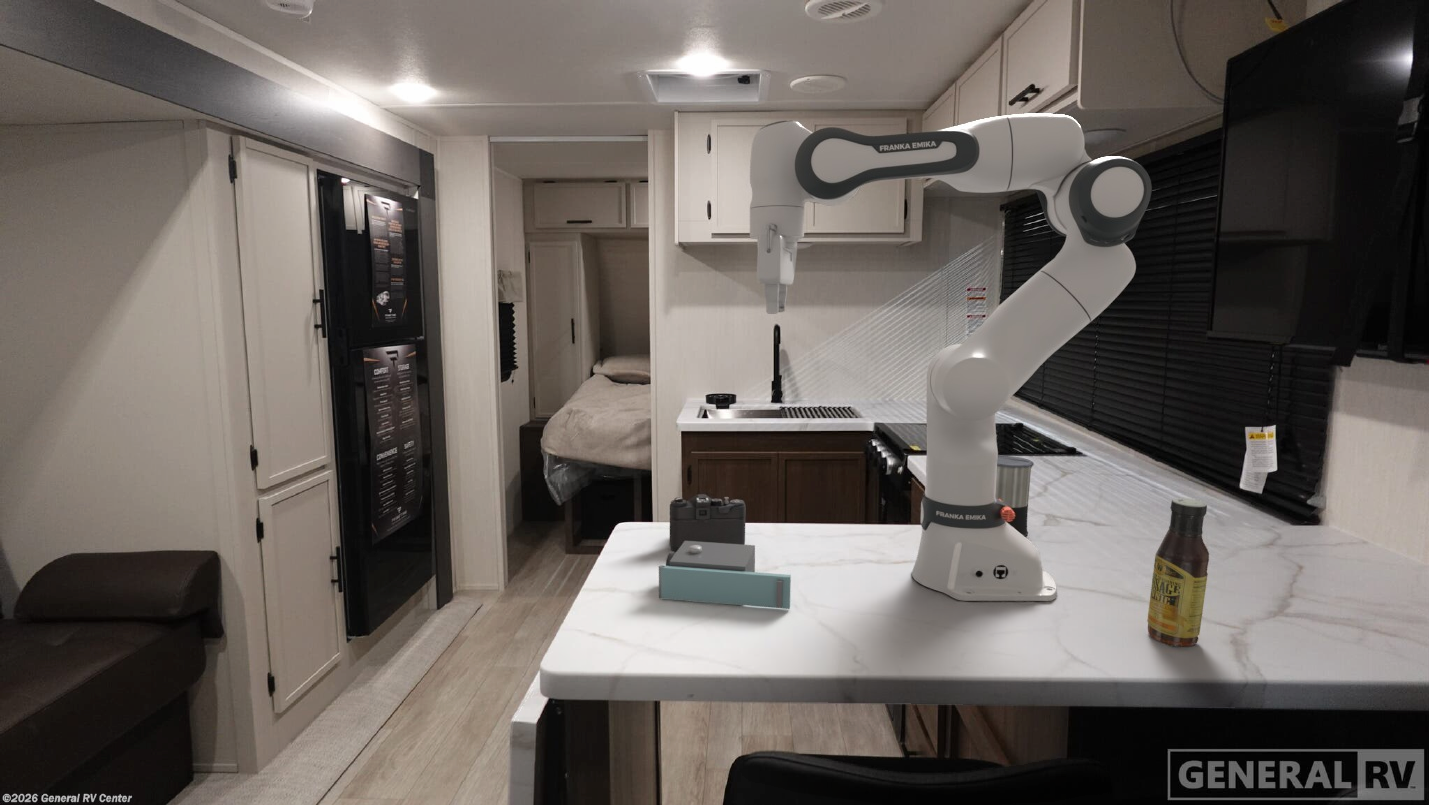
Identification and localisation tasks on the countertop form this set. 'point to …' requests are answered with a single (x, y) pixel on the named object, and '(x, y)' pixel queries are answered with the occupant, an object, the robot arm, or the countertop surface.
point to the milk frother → (1014, 488)
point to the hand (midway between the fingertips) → (776, 313)
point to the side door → (725, 586)
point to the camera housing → (714, 556)
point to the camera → (706, 521)
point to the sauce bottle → (1180, 577)
